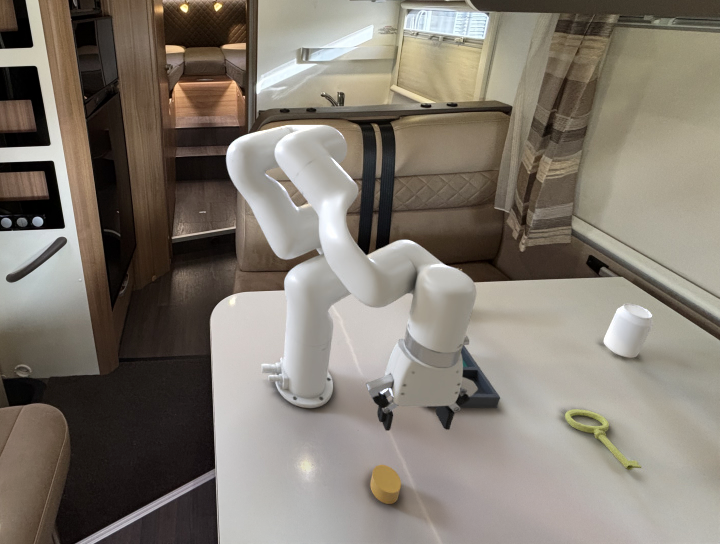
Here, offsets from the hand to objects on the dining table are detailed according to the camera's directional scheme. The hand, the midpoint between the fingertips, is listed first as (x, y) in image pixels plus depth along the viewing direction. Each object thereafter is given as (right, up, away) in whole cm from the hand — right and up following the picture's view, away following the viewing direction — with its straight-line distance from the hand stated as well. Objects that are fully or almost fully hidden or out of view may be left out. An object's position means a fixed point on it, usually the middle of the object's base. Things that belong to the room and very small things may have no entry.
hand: (413, 422), depth 70 cm
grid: (+19, -6, +25) cm, 32 cm away
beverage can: (+65, -3, +32) cm, 73 cm away
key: (+42, -11, +12) cm, 45 cm away
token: (-3, -14, +4) cm, 15 cm away
